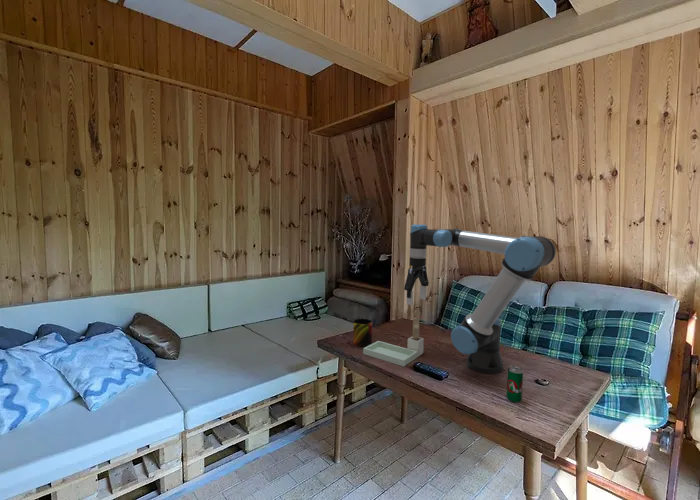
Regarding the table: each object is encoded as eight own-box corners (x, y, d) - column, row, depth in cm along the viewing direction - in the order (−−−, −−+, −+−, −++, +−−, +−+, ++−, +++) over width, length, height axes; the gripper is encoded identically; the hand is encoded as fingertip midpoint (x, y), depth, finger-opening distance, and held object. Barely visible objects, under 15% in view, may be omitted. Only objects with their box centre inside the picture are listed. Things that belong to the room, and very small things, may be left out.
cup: (423, 354, 165) (423, 338, 164) (417, 358, 160) (418, 341, 160) (412, 351, 168) (413, 335, 167) (407, 355, 164) (407, 339, 163)
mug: (359, 337, 188) (360, 315, 187) (375, 344, 177) (376, 322, 176) (345, 340, 182) (345, 318, 181) (360, 348, 171) (360, 325, 170)
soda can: (517, 395, 127) (518, 364, 126) (524, 403, 122) (526, 370, 121) (503, 395, 127) (505, 364, 126) (510, 403, 122) (512, 370, 121)
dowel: (419, 353, 164) (420, 318, 163) (416, 355, 162) (417, 320, 160) (413, 351, 166) (414, 317, 165) (411, 353, 164) (411, 318, 162)
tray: (417, 358, 160) (417, 351, 159) (403, 368, 149) (404, 360, 149) (378, 347, 173) (378, 340, 173) (363, 355, 163) (363, 348, 163)
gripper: (422, 254, 172) (421, 296, 174) (397, 259, 152) (396, 305, 154) (436, 255, 167) (434, 298, 169) (412, 260, 148) (410, 308, 150)
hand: (416, 301), depth 162 cm, fingers open, 13 cm apart
